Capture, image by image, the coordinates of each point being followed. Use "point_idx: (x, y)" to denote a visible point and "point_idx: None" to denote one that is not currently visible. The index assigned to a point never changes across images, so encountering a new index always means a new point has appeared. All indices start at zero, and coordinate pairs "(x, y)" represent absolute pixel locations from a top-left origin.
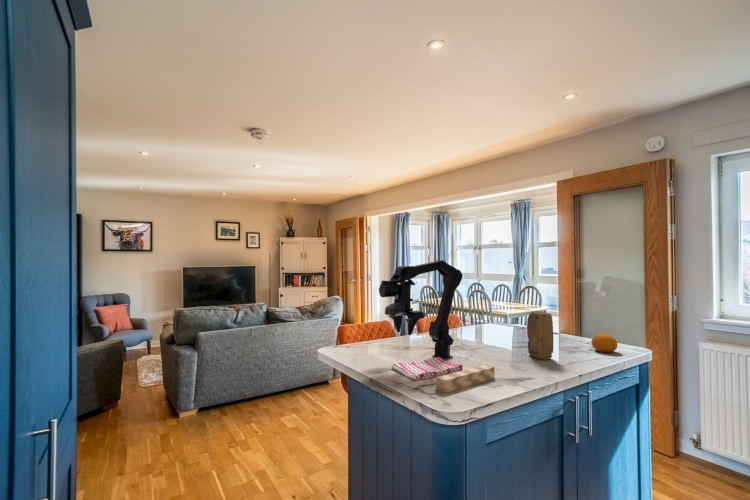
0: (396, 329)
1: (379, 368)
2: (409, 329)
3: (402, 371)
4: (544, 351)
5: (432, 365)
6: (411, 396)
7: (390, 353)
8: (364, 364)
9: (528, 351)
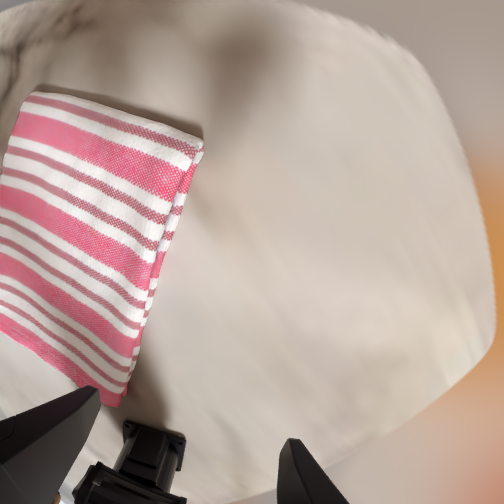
0: (312, 460)
1: (265, 102)
2: (34, 409)
3: (98, 106)
4: None
5: (75, 314)
6: (19, 9)
7: (385, 386)
8: (385, 119)
9: (55, 496)
